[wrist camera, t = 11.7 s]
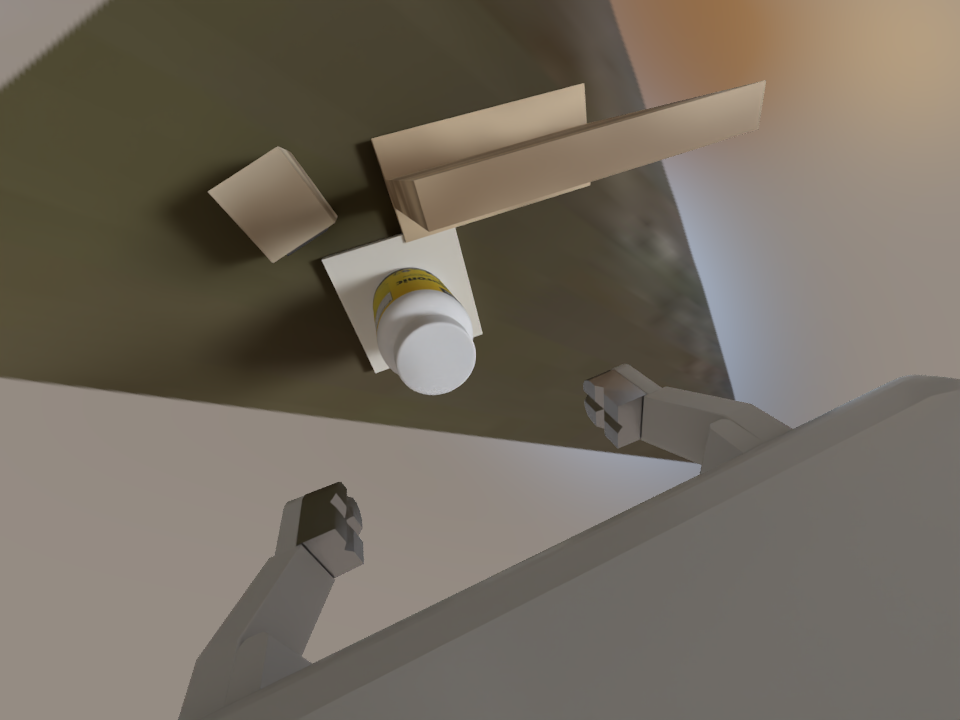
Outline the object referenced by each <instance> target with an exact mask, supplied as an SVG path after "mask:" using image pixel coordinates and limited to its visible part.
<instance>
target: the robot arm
mask: <svg viewBox="0 0 960 720" xmlns="http://www.w3.org/2000/svg"><path fill="white" fill-rule="evenodd" d="M583 385H584V391H585V392H586V393H587V394H588V395H587V397H586V399H585V400H584V401H585V409H586V411H587V414H588V416H589V417H590V419H591V420H592V422H593V423H594V424H595V425H596V426H598V427H601V428H605V435H606V437H607V438H608V439H609V440H610V441H611V442H612V443H613V444H614V445H615V446H616V447H617V448H620V447H623V446H625V445H627V444H630V443H632V442H635V441H637V440H639V439H641V440H643V441H645V442H647V443H650V444H652V445H655V446H657V447H659V448H662V449H664V450H667V451H669V452H671V453H674V454H676V455H679V456H681V457H684V458H686V459H688V460H691V461H693V462H696V463H698V464H701V465H702V467H701V471H700V475H698V476H696V477H694V478H692V479H690V480H688V481H686V482H683V483H681V484H679V485H677V486H676V487H673V488H672V489H669V490H667V491H665V492H663V493H661V494H659V495H657V496H655V497H653V498H651V499H649V500H647V501H645V502H643V503H640V504H639V505H637V506H634V507H632V508H630V509H628V510H626V511H624V512H622V513H620V514H618V515H616V516H614V517H612V518H610V519H608V520H606V521H604V522H602V523H600V524H598V525H596V526H593V527H591V528H590V529H587V530H585V531H583V532H581V533H579V534H577V535H575V536H573V537H571V538H569V539H567V540H565V541H563V542H561V543H559V544H557V545H555V546H553V547H551V548H548V549H546V550H544V551H542V552H540V553H538V554H536V555H535V556H532V557H530V558H528V559H526V560H524V561H522V562H520V563H518V564H516V565H514V566H512V567H510V568H508V569H506V570H503V571H501V572H500V573H497V574H495V575H493V576H491V577H489V578H487V579H485V580H483V581H481V582H479V583H477V584H475V585H473V586H471V587H469V588H467V589H465V590H463V591H461V592H459V593H456V594H455V595H452V596H451V597H448V598H447V599H444V600H442V601H440V602H438V603H436V604H434V605H432V606H430V607H428V608H426V609H424V610H422V611H420V612H418V613H415V614H413V615H411V616H409V617H407V618H405V619H403V620H401V621H399V622H397V623H395V624H393V625H391V626H389V627H387V628H385V629H383V630H381V631H379V632H377V633H374V634H373V635H370V636H368V637H366V638H364V639H362V640H360V641H358V642H356V643H354V644H352V645H350V646H348V647H346V648H344V649H342V650H340V651H338V652H336V653H334V654H331V655H329V656H327V657H325V658H323V659H321V660H319V661H318V662H315V663H313V664H312V663H311V662H309V661H307V660H306V659H305V658H303V657H302V654H303V652H304V649H305V647H306V644H307V642H308V640H309V638H310V635H311V633H312V631H313V629H314V626H315V624H316V622H317V620H318V617H319V615H320V613H321V610H322V608H323V606H324V604H325V601H326V599H327V597H328V594H329V592H330V590H331V587H332V585H333V583H334V581H335V580H334V578H336V577H338V576H340V575H342V574H344V573H346V572H348V571H350V570H352V569H354V568H356V567H358V566H360V565H362V564H364V557H363V542H362V540H361V539H360V538H359V534H360V532H361V530H362V518H361V514H360V510H359V508H358V506H357V503H356V502H355V500H354V499H353V498H351V497H348V496H347V489H346V487H345V486H344V485H343V484H342V482H337V483H335V484H332V485H329V486H327V487H324V488H322V489H319V490H317V491H314V492H311V493H309V494H306V495H305V496H302V497H299V498H297V499H294V500H291V501H289V502H287V503H286V505H285V506H284V509H283V515H282V520H281V525H280V531H279V536H278V541H277V547H276V552H275V556H273V557H271V558H269V559H268V561H267V562H266V563H265V565H264V566H263V568H262V569H261V570H260V572H259V573H258V575H257V576H256V578H255V579H254V580H253V582H252V583H251V584H250V586H249V587H248V589H247V590H246V591H245V593H244V594H243V596H242V597H241V599H240V600H239V602H238V603H237V604H236V605H235V607H234V608H233V610H232V611H231V612H230V614H229V615H228V617H227V618H226V619H225V621H224V622H223V624H222V625H221V627H220V628H219V629H218V631H217V632H216V633H215V635H214V636H213V638H212V639H211V641H210V642H209V643H208V645H207V646H206V647H205V649H204V650H203V652H202V653H201V655H200V656H199V657H198V659H197V660H196V663H195V667H194V670H193V673H192V677H191V679H190V683H189V686H188V689H187V693H186V696H185V699H184V702H183V706H182V709H181V712H180V716H179V719H178V720H960V379H954V378H946V377H938V376H926V375H908V376H904V377H900V378H898V379H895V380H893V381H890V382H888V383H886V384H884V385H882V386H880V387H878V388H876V389H874V390H872V391H870V392H868V393H866V394H864V395H861V396H860V397H857V398H855V399H854V400H851V401H849V402H847V403H845V404H843V405H841V406H839V407H837V408H835V409H833V410H831V411H829V412H827V413H825V414H823V415H821V416H819V417H817V418H815V419H813V420H811V421H808V422H806V423H804V424H802V425H800V426H798V427H796V428H794V429H792V428H790V427H789V426H787V425H785V424H784V423H782V422H780V421H778V420H777V419H775V418H774V417H772V416H770V415H769V414H767V413H765V412H764V411H762V410H760V409H758V408H757V407H755V406H754V405H752V404H748V403H744V402H739V401H734V400H729V399H724V398H719V397H714V396H709V395H705V394H700V393H695V392H690V391H685V390H680V389H675V388H670V387H664V388H661V387H660V386H658V385H657V384H655V383H654V382H653V381H651V380H650V379H648V378H647V377H645V376H644V375H643V374H641V373H640V372H638V371H637V370H636V369H634V368H633V367H631V366H630V365H628V364H622V365H620V366H618V367H615V368H613V369H611V370H608V371H606V372H604V373H601V374H599V375H597V376H594V377H592V378H590V379H587V380H585V381H584V384H583Z"/></svg>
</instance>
